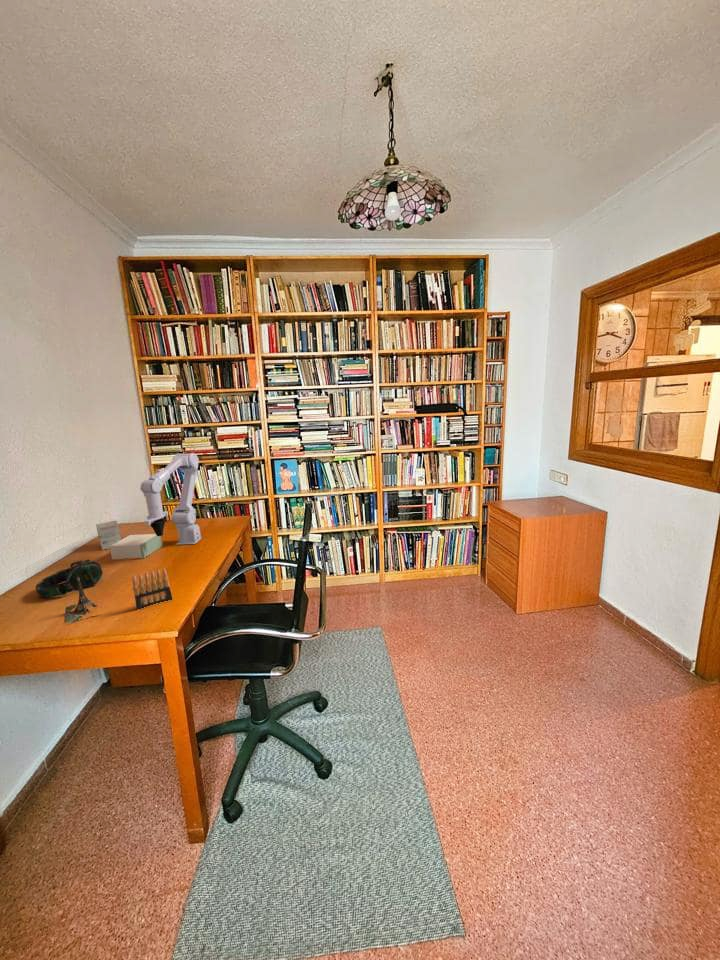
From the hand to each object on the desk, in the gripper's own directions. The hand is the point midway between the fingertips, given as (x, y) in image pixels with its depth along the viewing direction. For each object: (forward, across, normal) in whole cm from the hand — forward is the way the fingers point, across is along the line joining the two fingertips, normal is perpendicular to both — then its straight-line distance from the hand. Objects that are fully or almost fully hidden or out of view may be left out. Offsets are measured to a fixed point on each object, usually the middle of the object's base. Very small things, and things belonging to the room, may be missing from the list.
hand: (159, 535), depth 165 cm
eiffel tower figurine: (+10, +45, -1) cm, 46 cm away
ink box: (+10, -14, -35) cm, 39 cm away
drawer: (+9, -4, -14) cm, 17 cm away
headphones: (+10, +29, -18) cm, 36 cm away
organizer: (+9, -4, -15) cm, 18 cm away
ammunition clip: (+10, +42, +22) cm, 48 cm away
